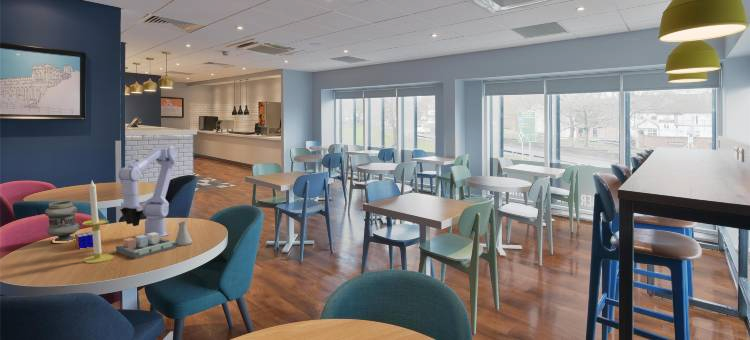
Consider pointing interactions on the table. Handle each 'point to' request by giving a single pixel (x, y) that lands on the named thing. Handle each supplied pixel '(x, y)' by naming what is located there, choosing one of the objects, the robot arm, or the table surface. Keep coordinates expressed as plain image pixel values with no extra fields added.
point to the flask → (183, 235)
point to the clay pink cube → (129, 243)
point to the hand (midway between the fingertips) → (132, 224)
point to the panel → (147, 248)
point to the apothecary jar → (62, 220)
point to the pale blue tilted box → (142, 240)
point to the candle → (96, 229)
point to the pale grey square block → (153, 237)
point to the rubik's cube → (84, 240)
